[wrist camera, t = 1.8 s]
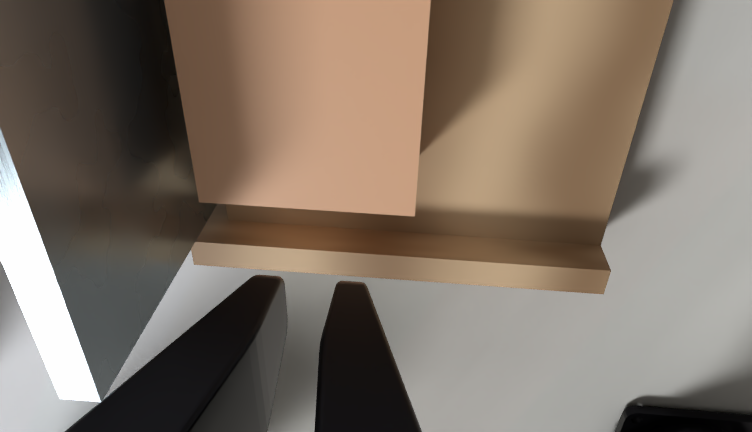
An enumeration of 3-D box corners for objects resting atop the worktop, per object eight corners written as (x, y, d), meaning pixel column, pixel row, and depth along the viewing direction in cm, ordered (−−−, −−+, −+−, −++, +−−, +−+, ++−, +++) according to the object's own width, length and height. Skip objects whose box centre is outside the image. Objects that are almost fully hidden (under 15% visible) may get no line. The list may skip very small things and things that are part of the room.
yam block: (432, -45, 15) (431, -17, 12) (417, 156, 19) (414, 216, 16) (210, -54, 16) (159, -29, 13) (235, 145, 19) (199, 202, 16)
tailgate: (137, -167, 15) (173, -166, 15) (198, 189, 21) (224, 191, 21) (-182, -168, 7) (-109, -165, 7) (59, 398, 13) (101, 402, 13)
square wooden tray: (712, -224, 14) (773, -237, 12) (583, 241, 22) (603, 294, 19) (151, -236, 15) (95, -251, 12) (220, 217, 23) (194, 264, 20)
